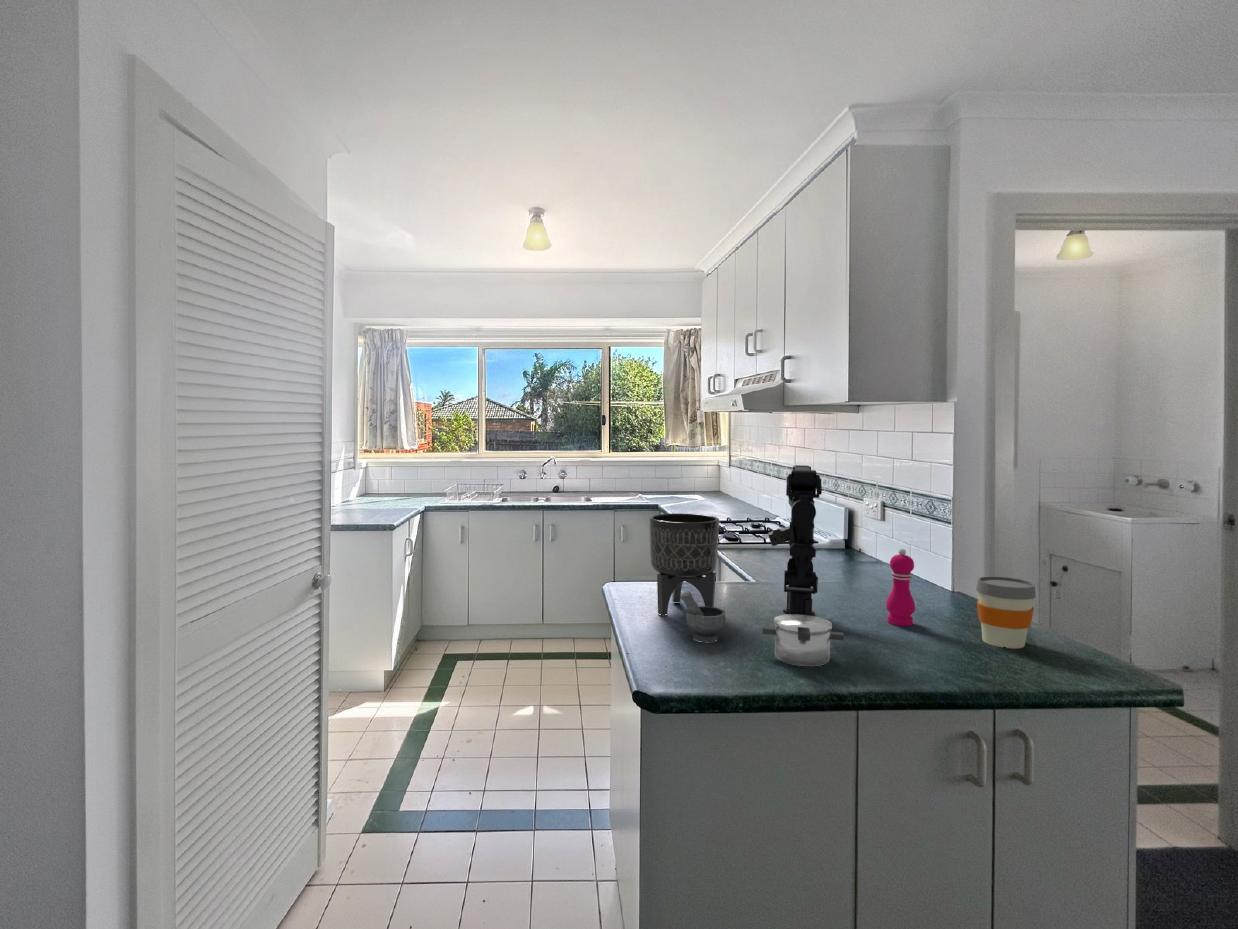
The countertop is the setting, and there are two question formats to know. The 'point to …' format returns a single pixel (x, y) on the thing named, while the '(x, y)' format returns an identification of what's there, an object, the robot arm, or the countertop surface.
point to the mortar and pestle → (703, 619)
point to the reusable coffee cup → (1005, 610)
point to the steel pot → (802, 646)
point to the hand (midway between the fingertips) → (800, 578)
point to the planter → (683, 555)
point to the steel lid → (803, 625)
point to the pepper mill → (901, 591)
